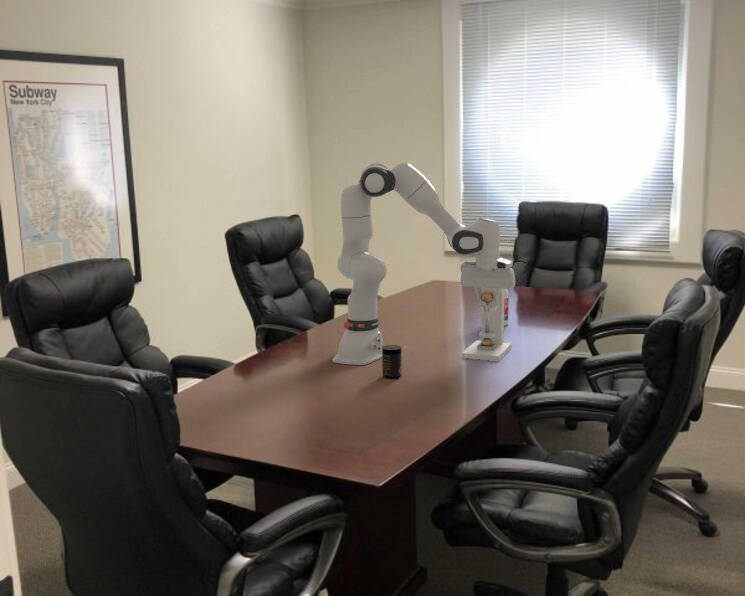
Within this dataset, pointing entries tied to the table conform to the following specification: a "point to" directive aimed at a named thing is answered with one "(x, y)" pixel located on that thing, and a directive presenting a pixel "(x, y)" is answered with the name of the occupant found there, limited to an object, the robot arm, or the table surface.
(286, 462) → the table surface
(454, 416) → the table surface
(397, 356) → the supplement container
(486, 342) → the walnut
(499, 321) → the press frame
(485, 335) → the plunger
